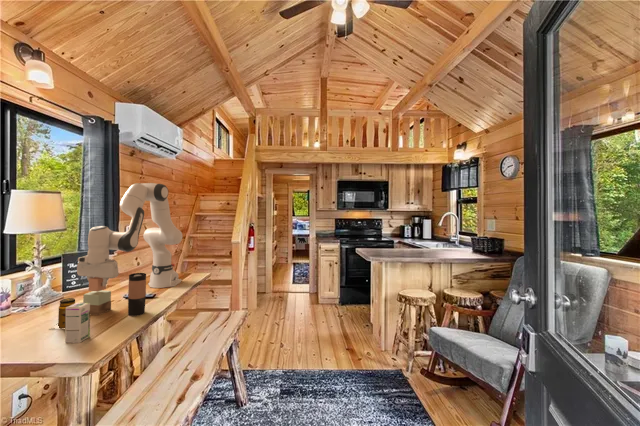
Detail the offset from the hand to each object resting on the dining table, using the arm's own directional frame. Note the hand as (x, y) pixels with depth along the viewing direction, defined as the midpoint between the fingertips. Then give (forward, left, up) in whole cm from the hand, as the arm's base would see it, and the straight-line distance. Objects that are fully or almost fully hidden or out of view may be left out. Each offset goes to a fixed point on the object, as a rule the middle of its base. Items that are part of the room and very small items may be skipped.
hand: (97, 285), depth 153 cm
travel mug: (-2, +20, -14) cm, 24 cm away
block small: (0, 0, -2) cm, 2 cm away
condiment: (+18, +1, -14) cm, 23 cm away
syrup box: (+29, +18, -14) cm, 36 cm away
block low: (0, 0, -14) cm, 14 cm away
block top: (0, 0, -9) cm, 9 cm away
